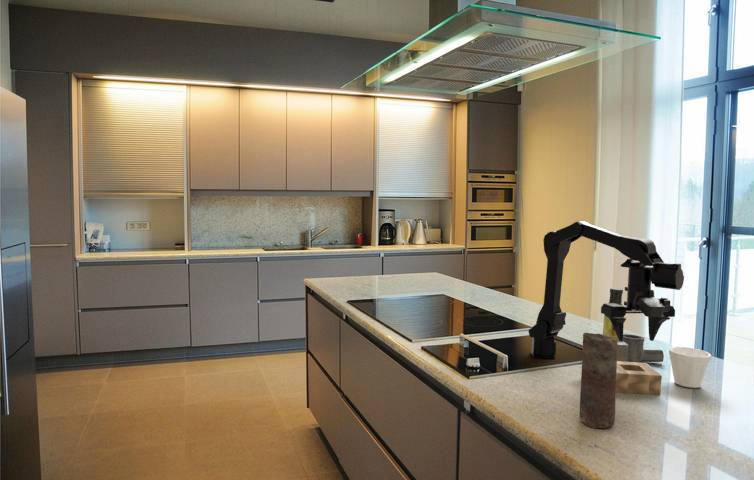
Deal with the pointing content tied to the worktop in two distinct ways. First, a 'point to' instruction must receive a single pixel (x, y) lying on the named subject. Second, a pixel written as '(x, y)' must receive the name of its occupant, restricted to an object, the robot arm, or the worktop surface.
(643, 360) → the pipe
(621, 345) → the square bit
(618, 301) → the sauce bottle
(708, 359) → the cup
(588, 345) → the brown stone pillar
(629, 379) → the socket block
